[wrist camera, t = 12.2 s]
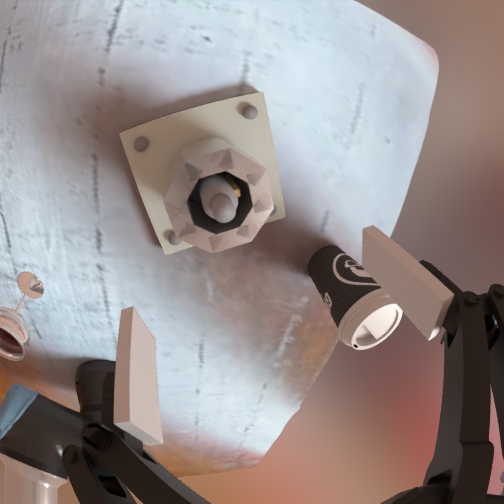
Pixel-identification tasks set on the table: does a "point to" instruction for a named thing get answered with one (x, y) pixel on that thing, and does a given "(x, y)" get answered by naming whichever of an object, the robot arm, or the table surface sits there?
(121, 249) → the table surface
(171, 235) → the shaft block
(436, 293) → the robot arm
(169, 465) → the table surface
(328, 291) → the coffee cup
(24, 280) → the wineglass
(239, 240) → the hub
